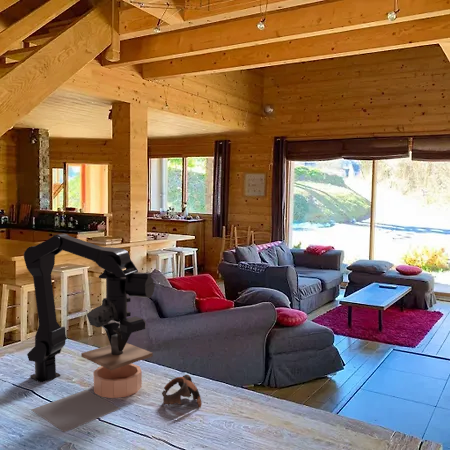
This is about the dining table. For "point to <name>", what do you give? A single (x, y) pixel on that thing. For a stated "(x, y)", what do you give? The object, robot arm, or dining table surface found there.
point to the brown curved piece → (181, 391)
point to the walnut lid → (116, 355)
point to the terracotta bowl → (117, 381)
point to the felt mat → (75, 410)
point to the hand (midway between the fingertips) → (117, 349)
